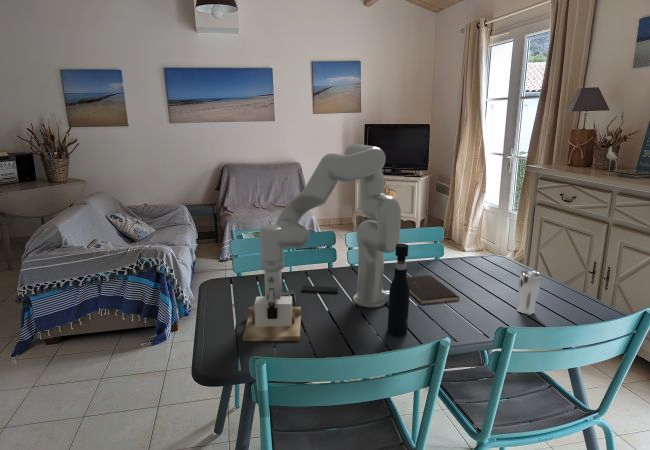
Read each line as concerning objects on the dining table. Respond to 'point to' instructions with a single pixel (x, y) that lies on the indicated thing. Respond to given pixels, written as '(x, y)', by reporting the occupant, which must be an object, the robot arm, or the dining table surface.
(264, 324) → the light grey block
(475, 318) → the dining table surface
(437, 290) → the hardcover book
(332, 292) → the remote control
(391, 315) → the black bottle
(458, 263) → the dining table surface
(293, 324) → the cleat board
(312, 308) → the dining table surface
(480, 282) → the dining table surface
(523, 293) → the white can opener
